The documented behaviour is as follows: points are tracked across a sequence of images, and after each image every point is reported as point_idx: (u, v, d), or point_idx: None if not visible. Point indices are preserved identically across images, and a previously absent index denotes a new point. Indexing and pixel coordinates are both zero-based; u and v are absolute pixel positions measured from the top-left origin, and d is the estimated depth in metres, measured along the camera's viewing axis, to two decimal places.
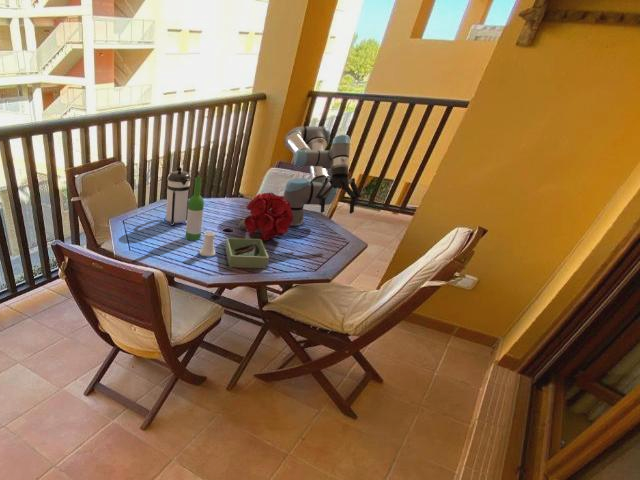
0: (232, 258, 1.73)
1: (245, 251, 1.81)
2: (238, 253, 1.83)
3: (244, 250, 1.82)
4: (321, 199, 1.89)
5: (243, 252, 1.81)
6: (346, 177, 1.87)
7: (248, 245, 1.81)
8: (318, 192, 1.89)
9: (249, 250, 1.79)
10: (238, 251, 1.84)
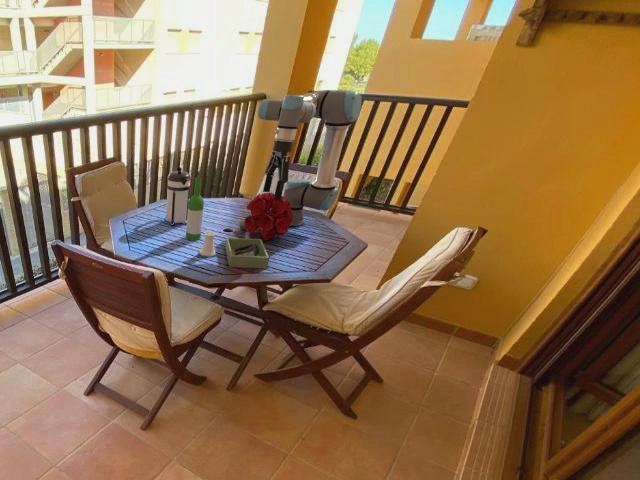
0: (232, 258, 1.73)
1: (245, 251, 1.81)
2: (238, 253, 1.83)
3: (244, 250, 1.82)
4: None
5: (243, 252, 1.81)
6: (281, 153, 1.54)
7: (248, 245, 1.81)
8: None
9: (249, 250, 1.79)
10: (238, 251, 1.84)
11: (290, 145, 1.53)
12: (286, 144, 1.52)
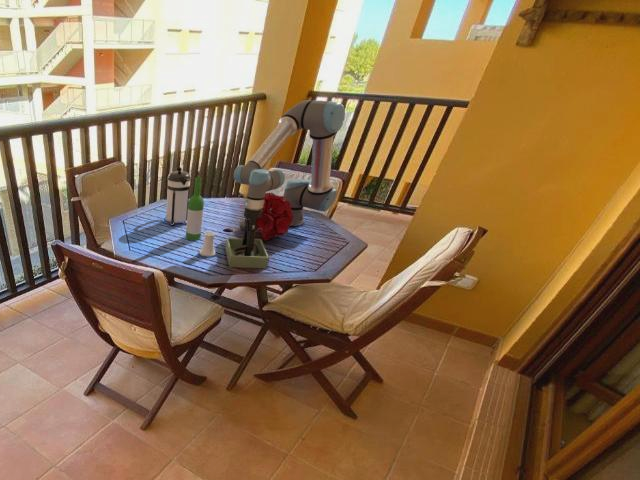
0: (232, 258, 1.73)
1: None
2: (238, 253, 1.83)
3: (244, 250, 1.82)
4: (244, 239, 1.84)
5: (243, 252, 1.81)
6: (250, 220, 1.70)
7: None
8: (244, 231, 1.84)
9: None
10: (238, 251, 1.84)
11: (258, 213, 1.68)
12: (254, 212, 1.67)
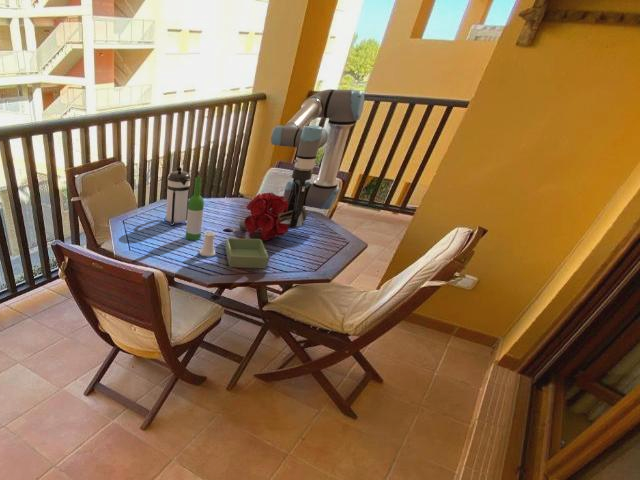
0: (232, 258, 1.73)
1: (291, 217, 1.71)
2: (283, 219, 1.73)
3: (290, 216, 1.72)
4: None
5: (289, 218, 1.71)
6: (299, 182, 1.60)
7: None
8: None
9: None
10: (283, 217, 1.75)
11: (308, 174, 1.58)
12: (304, 173, 1.57)
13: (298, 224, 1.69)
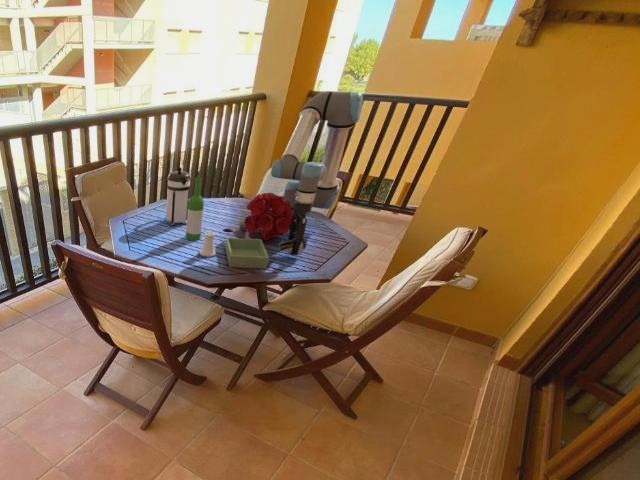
0: (232, 258, 1.73)
1: (292, 246, 1.78)
2: (284, 248, 1.81)
3: (291, 245, 1.80)
4: None
5: (290, 247, 1.79)
6: (300, 214, 1.68)
7: None
8: (290, 225, 1.82)
9: None
10: (284, 246, 1.82)
11: (308, 207, 1.65)
12: (305, 206, 1.65)
13: (298, 253, 1.77)
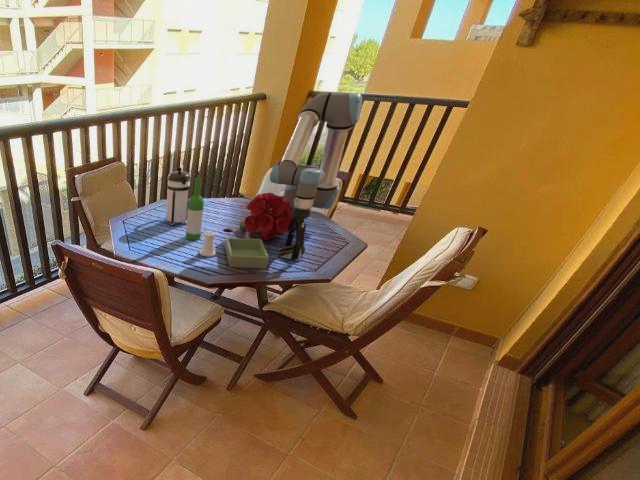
0: (232, 258, 1.73)
1: (290, 252, 1.80)
2: (283, 254, 1.82)
3: (289, 251, 1.81)
4: None
5: (288, 253, 1.80)
6: (298, 219, 1.69)
7: (293, 246, 1.81)
8: None
9: None
10: (282, 252, 1.84)
11: (307, 212, 1.67)
12: (303, 212, 1.67)
13: (297, 259, 1.79)
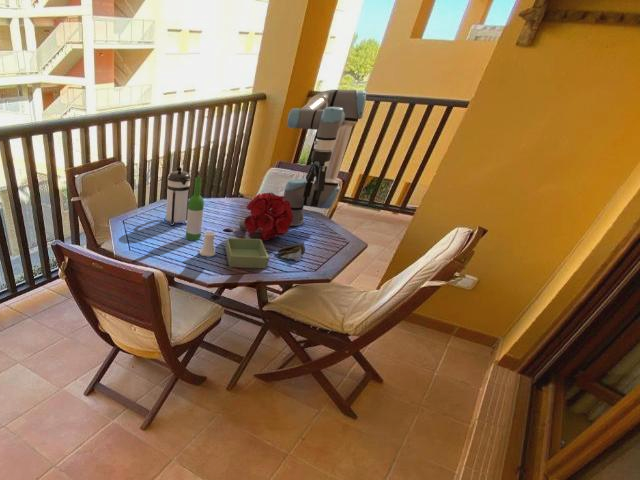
0: (232, 258, 1.73)
1: (290, 252, 1.80)
2: (283, 254, 1.82)
3: (289, 251, 1.81)
4: None
5: (288, 253, 1.80)
6: (319, 163, 1.62)
7: (293, 246, 1.81)
8: None
9: (295, 251, 1.79)
10: (282, 252, 1.84)
11: (328, 155, 1.59)
12: (324, 154, 1.59)
13: (297, 259, 1.79)
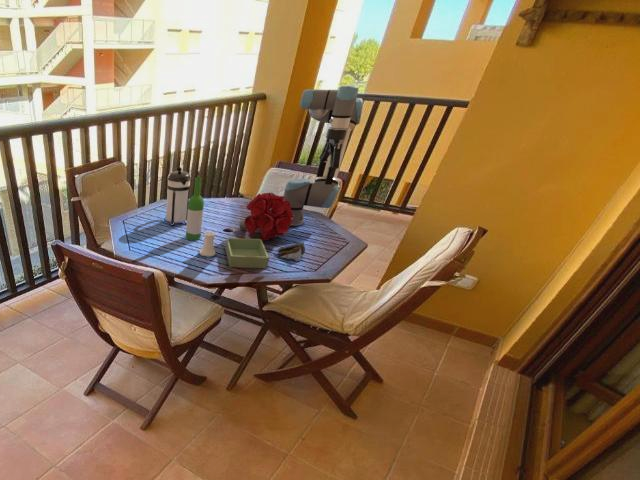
0: (232, 258, 1.73)
1: (290, 252, 1.80)
2: (283, 254, 1.82)
3: (289, 251, 1.81)
4: None
5: (288, 253, 1.80)
6: (334, 141, 1.66)
7: (293, 246, 1.81)
8: (321, 154, 1.81)
9: (295, 251, 1.79)
10: (282, 252, 1.84)
11: (343, 133, 1.64)
12: (339, 132, 1.63)
13: (297, 259, 1.79)
